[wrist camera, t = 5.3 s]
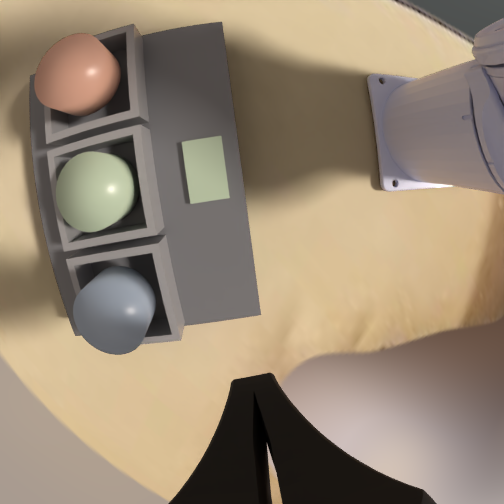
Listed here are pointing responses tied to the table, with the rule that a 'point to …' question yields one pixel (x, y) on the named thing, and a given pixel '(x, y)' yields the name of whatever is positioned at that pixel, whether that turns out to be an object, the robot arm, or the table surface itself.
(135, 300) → the slate button
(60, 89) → the terracotta button
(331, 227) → the table surface
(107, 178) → the sage button
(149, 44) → the console
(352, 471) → the robot arm
